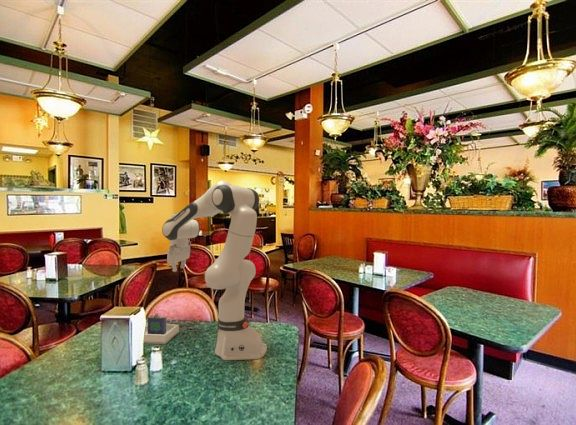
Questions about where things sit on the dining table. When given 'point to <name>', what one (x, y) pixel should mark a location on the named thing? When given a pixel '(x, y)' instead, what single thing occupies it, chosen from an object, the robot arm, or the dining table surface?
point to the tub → (161, 339)
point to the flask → (157, 324)
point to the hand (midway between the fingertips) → (178, 269)
